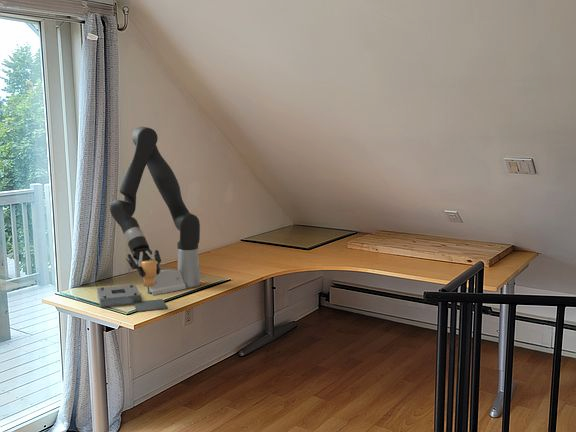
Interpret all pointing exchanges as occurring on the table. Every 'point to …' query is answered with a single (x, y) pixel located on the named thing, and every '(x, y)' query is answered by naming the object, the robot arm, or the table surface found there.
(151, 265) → the wooden block
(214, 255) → the table surface
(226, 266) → the table surface
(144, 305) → the mat
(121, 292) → the housing
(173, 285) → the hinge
